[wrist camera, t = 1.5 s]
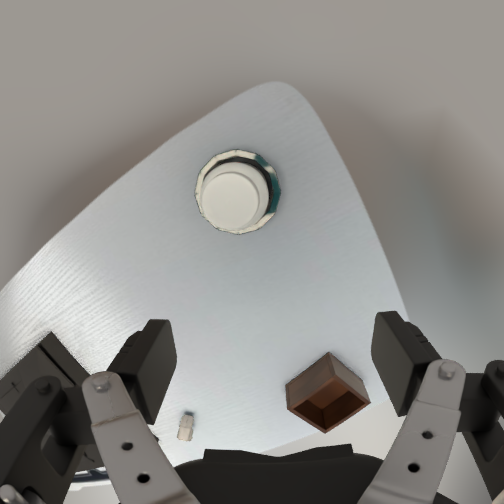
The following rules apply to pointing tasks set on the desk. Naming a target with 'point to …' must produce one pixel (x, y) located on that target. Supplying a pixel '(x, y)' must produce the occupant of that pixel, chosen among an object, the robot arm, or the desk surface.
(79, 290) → the desk surface
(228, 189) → the pill bottle
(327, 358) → the holder
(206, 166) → the teal ring
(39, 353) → the dark grey flat block
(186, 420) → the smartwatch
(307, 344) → the desk surface
